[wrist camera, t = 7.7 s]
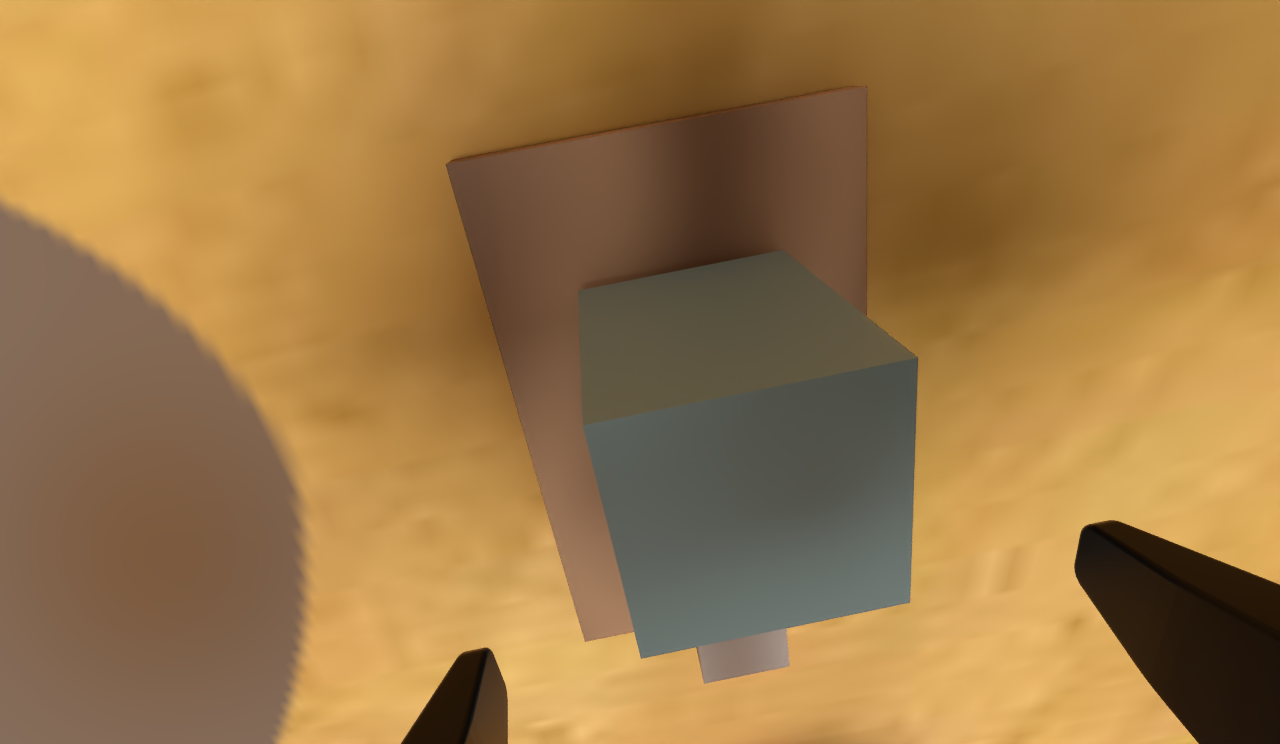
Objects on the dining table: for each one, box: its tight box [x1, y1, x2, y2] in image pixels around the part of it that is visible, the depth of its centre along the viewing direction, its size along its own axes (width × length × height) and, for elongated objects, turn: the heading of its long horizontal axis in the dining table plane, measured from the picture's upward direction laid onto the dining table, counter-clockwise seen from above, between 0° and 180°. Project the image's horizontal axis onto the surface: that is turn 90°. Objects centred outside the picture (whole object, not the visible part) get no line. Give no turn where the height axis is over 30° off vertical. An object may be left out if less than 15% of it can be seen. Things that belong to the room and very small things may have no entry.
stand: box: [446, 86, 867, 684], centre depth 15 cm, size 10×16×7 cm, turn 9°
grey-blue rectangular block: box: [578, 250, 918, 659], centre depth 13 cm, size 5×5×7 cm
